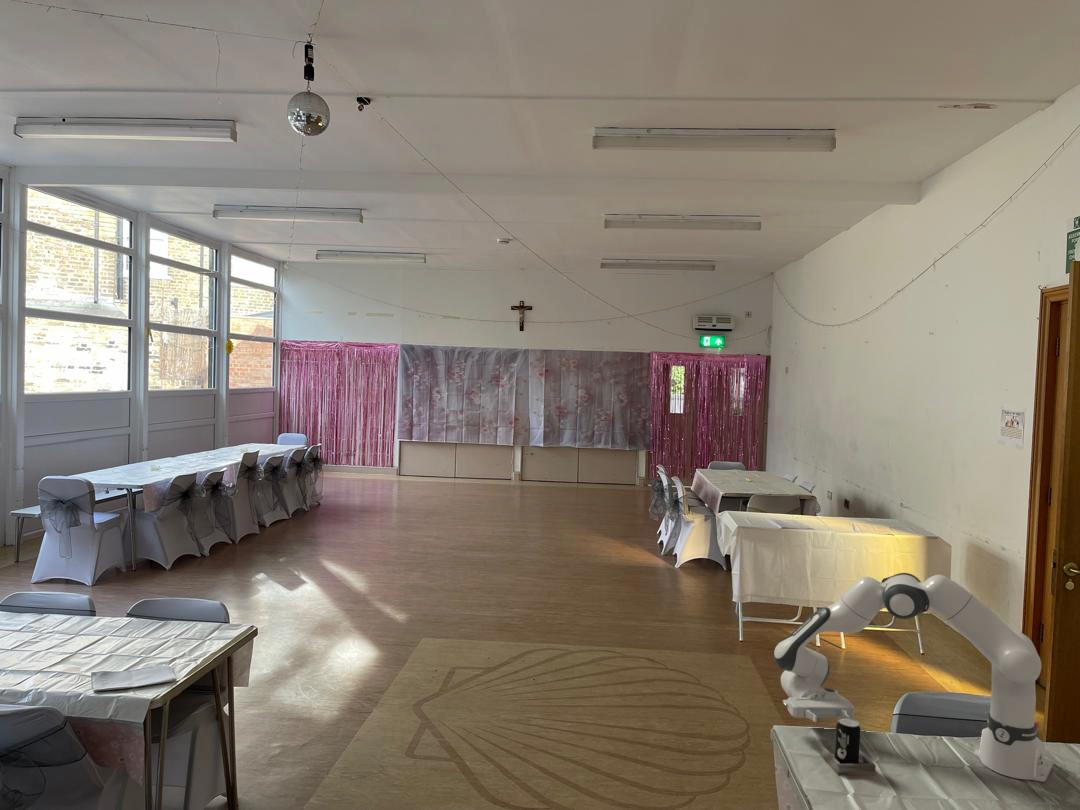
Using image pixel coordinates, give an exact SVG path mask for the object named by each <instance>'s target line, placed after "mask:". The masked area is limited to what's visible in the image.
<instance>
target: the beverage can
mask: <svg viewBox="0 0 1080 810" xmlns="http://www.w3.org/2000/svg"><path fill="white" fill-rule="evenodd" d="M835 724H836V725H835V741H834V742H835V744H834V752H835V756H834V757H835V758H836V760H837V761H838V762H839V763H840V764H858V763H859V750H861V748H860V745H861V730H862V729H861V727H860V723H859V721H858V720H857V719H854V718H853V717H852V718H848V717H841V718H837V722H836V723H835Z"/></svg>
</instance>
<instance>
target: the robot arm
mask: <svg viewBox="0 0 1080 810" xmlns="http://www.w3.org/2000/svg"><path fill="white" fill-rule="evenodd" d="M883 609H886V610H887V612H888V613H889V614H890V615H892V616H893V617H895V618H897V619H901V620H909V619H913V618H914V617H917V616H918V615H922V614H923V613H925V612H928V610H929V609H930V610H932V611H934V612H935V613H937V614H938V615H939V616H940V617H941V618H942V619H944V620H945V621H946V622H947V623H948V624H949V625H951V627H953V628H954V629H956V631H957V632H959V633H960V634H961V635H962V636H963V637H964V638H965V639H967V640H968V641H969V642H970V643H971V644H972V645H973V646H974V647H975V648H976V649H977V650H978V651H979V653H981V654H982V655H983V656H984V657H985V658H986V659H987V660H988V661H989V662H990V663H991V689H990V690H991V695H990V708H989V709H990V711H989V712H988V714H987V721H986V722H987V727H985V728H982V731H981V737H980V744H979V748H977V749H976V748H975V749H974V755H975V756H977V758H979V759H980V761H981V763H982V764H983V765H984V766H985V767H987V768H988V769H990V770H992V771H994V772H996V773H997V774H1000V775H1003V776H1006V777H1010V778H1013V779H1019V780H1028V781H1029V780H1032V781H1037V782H1042V783H1043V782H1044V783H1045V782H1046V781H1047V779H1048V777H1049V775H1050V773H1051V771H1052V768H1053V766H1054V760H1052V759H1051V758H1049V757H1048V756H1045V752H1046V749H1045V748H1046V747H1045V743H1044V742H1043V741H1041V739H1040V738H1039V737H1038V734H1037V733H1038V729H1039V727H1040V721H1038V720H1036V718H1035V717H1036V704H1037V703H1036V702H1037V696H1036V695H1037V694H1036V681H1037V680H1038V679H1039V677H1040V674H1041V671H1042V668H1043V667H1042V661H1041V658H1040V656H1039V654H1038V651H1037V649H1036V647H1035V645H1034V643H1033V641H1032V640H1031V639H1030V638H1029V637H1028V636H1027V635H1026V634H1024V633H1023V632H1021V631H1018V630H1015V629H1011V628H1010V627H1009V625H1007V624H1006V623H1005V622H1004V621H1003V620H1002V619H1001V618H1000V617H999V616H998V615H997V614H996V613H995V612H994V611H993V610H992V609H990V608H989V607H988V606H986V604H984V603H983V602H981V601H980V599H978V598H977V597H975V596H974V595H973V594H972V593H971V592H969V591H968V590H967V589H966V588H964V587H963V586H962V585H960V584H958V583H957V582H956V581H954V580H952V579H951V578H949V577H947V576H945V575H943V574H935V575H932V576H930V577H928V578H926V580H924V581H922V582H921V580H920V579H919V578H918V577H917V576H915V575H914V574H912V573H908V572H899V573H896V574H893V575H890V576H888V577H885V578H883V579H882V580H881V581H879V580H877V579H876V578H874V577H870V576H862V577H860V578H858V580H856V581H855V582H854V583H853V584H851V586H850V587H849V588H848V589H846V590H845V592H844V593H843V595H842V596H841V597H840V598H839V599H837V601H835V602H834V603H832V604H830V605H829V606H826V607H821V608H819V609H817V610H816V611H814V612H812V614H811V615H809V617H808V618H806V620H804V621H803V622H802V623H801V624H800V625H799V626H798V627H797V628H796V629H795V630H793V632H791V633H790V634H789V635H787V636H786V637H785V638H783V639H782V640H780V641H779V642H777V644H776V645H775V647H774V650H773V658H774V661H775V664H776V665H777V667H778V668H779V669H781V670H783V672H782V673H781V675H780V684H781V688H782V689H783V691H784V692H785V694H786V695H787V697H788V698H784V699H782V704H783V705H784V706H786V709H787V710H788V713H789V714H790V715H791V716H792V717H793V718H796V719H799V718H801V719H804V718H805V719H808V720H812V721H813V722H814V723H820V721H821V719H822V718H823V719H826V718H829V719H830V718H831V719H832V718H833V719H839V718H841V717H848V718H852V719H853V718H854V716H855V706H854V704H852V703H851V701H849V700H848V699H847V698H846V697H844V696H843V695H840V693H839V691H838V690H836V689H832V688H831V689H830V688H826V687H823V686H824V685H825V684H826V682H827V680H828V679H829V676H830V674H831V673H830V672H831V670H830V662H829V660H828V658H827V656H826V655H825V654H822V653H819V652H818V651H815V650H814V649H811V648H809V647H807V645H808V644H809V643H810V642H811V641H812V640H814V638H815V637H817V636H818V635H819V634H822V633H825V632H837V633H844V634H845V633H846V634H857V633H860V632H861V631H863V630H865V629H866V628H867V626H868V625H869V624H870V623H871V622H872V621H873V619H874V618H875V617H876V615H877V614H878V613H879V612H880V611H882V610H883Z"/></svg>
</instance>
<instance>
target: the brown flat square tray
mask: <svg viewBox="0 0 1080 810" xmlns="http://www.w3.org/2000/svg"><path fill="white" fill-rule="evenodd" d="M819 756H820V757H821V758H822V759H823V761H825V762H826V764H827V765H828V764H829V765H828V766H829V767H830V768H831V769H832V770H833V771H834V772H835V773H836V774H837V776H868V775H867V774H875V775H876V764H875V763H874V762H873V760H871V759H870V758H868V757H867V755H866V754H865V753H863V752H862V751H861V749H859V763H858V764H840V763H839V762H838V761H837V760H836V758H835V757H834V756H835V751H834V752H830V751H829V750H828V749H827V747H821V752H820V753H819Z"/></svg>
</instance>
